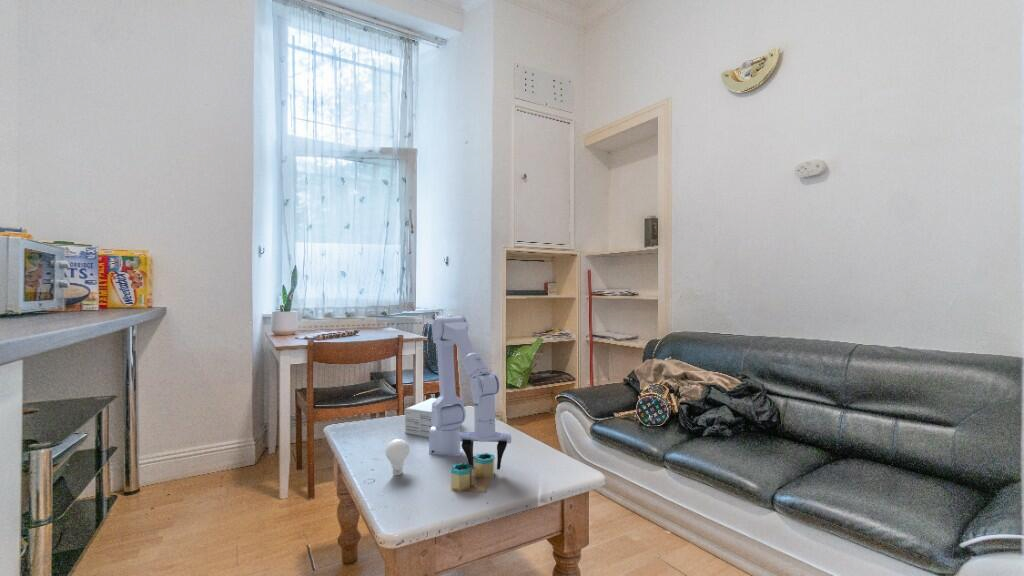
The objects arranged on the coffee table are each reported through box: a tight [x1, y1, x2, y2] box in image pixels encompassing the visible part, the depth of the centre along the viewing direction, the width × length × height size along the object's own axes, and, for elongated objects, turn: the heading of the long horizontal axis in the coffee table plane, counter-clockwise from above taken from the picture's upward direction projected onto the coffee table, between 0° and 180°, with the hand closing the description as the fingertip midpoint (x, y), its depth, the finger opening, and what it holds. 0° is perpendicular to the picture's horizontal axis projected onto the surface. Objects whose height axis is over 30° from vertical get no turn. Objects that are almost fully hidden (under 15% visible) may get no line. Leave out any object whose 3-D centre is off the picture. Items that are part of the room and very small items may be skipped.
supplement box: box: [404, 397, 454, 438], centre depth 164 cm, size 17×13×9 cm
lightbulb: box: [385, 438, 410, 477], centre depth 122 cm, size 6×6×11 cm
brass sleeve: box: [474, 452, 495, 479], centre depth 121 cm, size 5×6×5 cm
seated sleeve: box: [450, 462, 473, 492], centre depth 114 cm, size 5×6×5 cm
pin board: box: [451, 469, 492, 494], centre depth 117 cm, size 9×13×6 cm
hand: (485, 467), depth 121 cm, fingers open, 7 cm apart
